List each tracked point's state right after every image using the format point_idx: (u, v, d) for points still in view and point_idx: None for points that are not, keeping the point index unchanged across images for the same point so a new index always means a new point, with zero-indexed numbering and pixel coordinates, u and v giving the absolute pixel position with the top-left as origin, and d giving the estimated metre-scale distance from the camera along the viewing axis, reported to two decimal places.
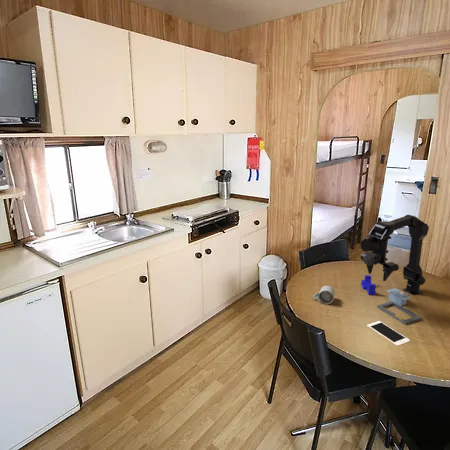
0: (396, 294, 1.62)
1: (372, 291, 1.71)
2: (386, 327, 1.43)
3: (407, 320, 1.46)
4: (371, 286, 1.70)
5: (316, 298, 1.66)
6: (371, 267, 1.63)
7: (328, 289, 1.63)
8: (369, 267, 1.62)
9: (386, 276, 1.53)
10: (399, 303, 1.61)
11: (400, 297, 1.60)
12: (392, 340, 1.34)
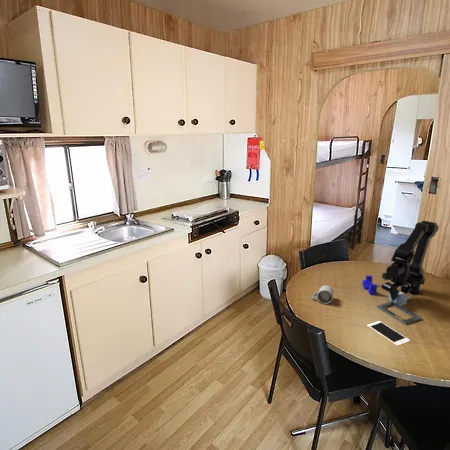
0: None
1: (373, 291, 1.70)
2: (386, 327, 1.43)
3: (407, 320, 1.46)
4: (372, 286, 1.70)
5: (315, 298, 1.66)
6: None
7: (327, 289, 1.63)
8: None
9: (391, 295, 1.62)
10: (399, 303, 1.61)
11: (400, 297, 1.60)
12: (392, 340, 1.34)
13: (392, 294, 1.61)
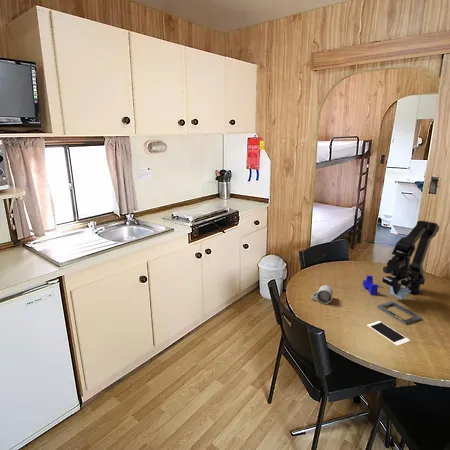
0: None
1: (374, 291, 1.70)
2: (386, 327, 1.43)
3: (407, 320, 1.46)
4: (373, 286, 1.70)
5: (314, 298, 1.67)
6: None
7: (326, 289, 1.64)
8: None
9: (394, 289, 1.61)
10: (400, 297, 1.60)
11: (401, 290, 1.59)
12: (392, 340, 1.34)
13: (394, 287, 1.60)
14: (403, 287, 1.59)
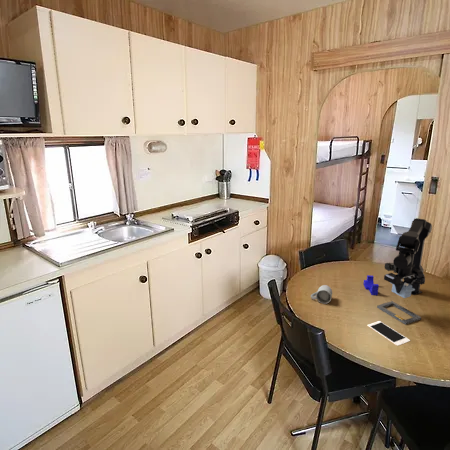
0: None
1: (375, 291, 1.70)
2: (386, 327, 1.43)
3: (407, 320, 1.46)
4: (374, 286, 1.70)
5: (314, 298, 1.67)
6: None
7: (326, 289, 1.64)
8: None
9: (396, 287, 1.49)
10: (403, 295, 1.48)
11: (404, 289, 1.47)
12: (392, 340, 1.34)
13: (397, 285, 1.48)
14: (406, 285, 1.47)
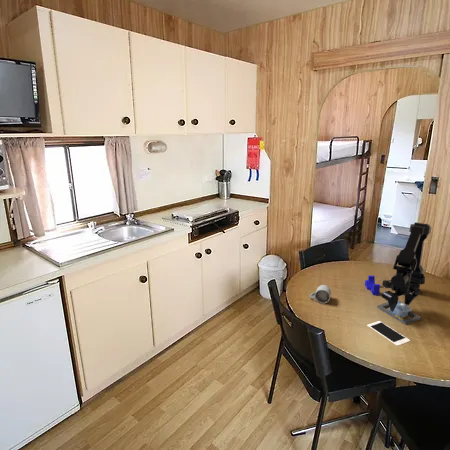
0: (397, 306, 1.52)
1: (376, 291, 1.70)
2: (386, 327, 1.43)
3: (407, 320, 1.46)
4: (375, 286, 1.69)
5: (313, 297, 1.67)
6: (407, 301, 1.53)
7: (324, 288, 1.64)
8: (405, 299, 1.54)
9: (390, 306, 1.51)
10: (400, 315, 1.51)
11: (401, 309, 1.49)
12: (392, 340, 1.34)
13: (391, 304, 1.50)
14: (403, 305, 1.50)
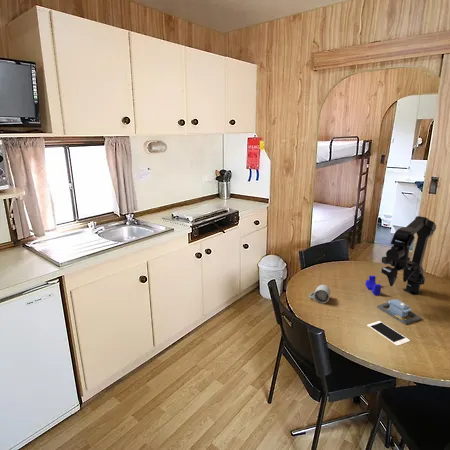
0: (397, 306, 1.52)
1: (377, 291, 1.70)
2: (386, 327, 1.43)
3: (407, 320, 1.46)
4: (376, 286, 1.69)
5: (312, 297, 1.67)
6: (406, 276, 1.58)
7: (324, 288, 1.64)
8: (404, 275, 1.59)
9: (390, 281, 1.55)
10: (400, 315, 1.51)
11: (401, 309, 1.49)
12: (392, 340, 1.34)
13: (390, 279, 1.55)
14: (403, 305, 1.50)
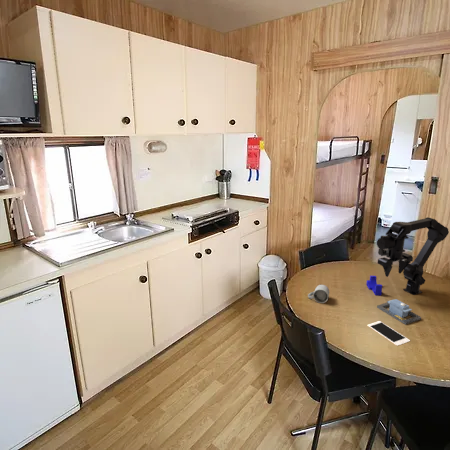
0: (397, 306, 1.51)
1: (379, 292, 1.70)
2: (386, 327, 1.43)
3: (407, 320, 1.46)
4: (378, 287, 1.69)
5: (311, 297, 1.67)
6: (401, 268, 1.67)
7: (323, 288, 1.64)
8: (399, 266, 1.68)
9: (385, 271, 1.64)
10: (400, 315, 1.51)
11: (401, 309, 1.49)
12: (392, 340, 1.34)
13: (386, 270, 1.64)
14: (403, 305, 1.50)
